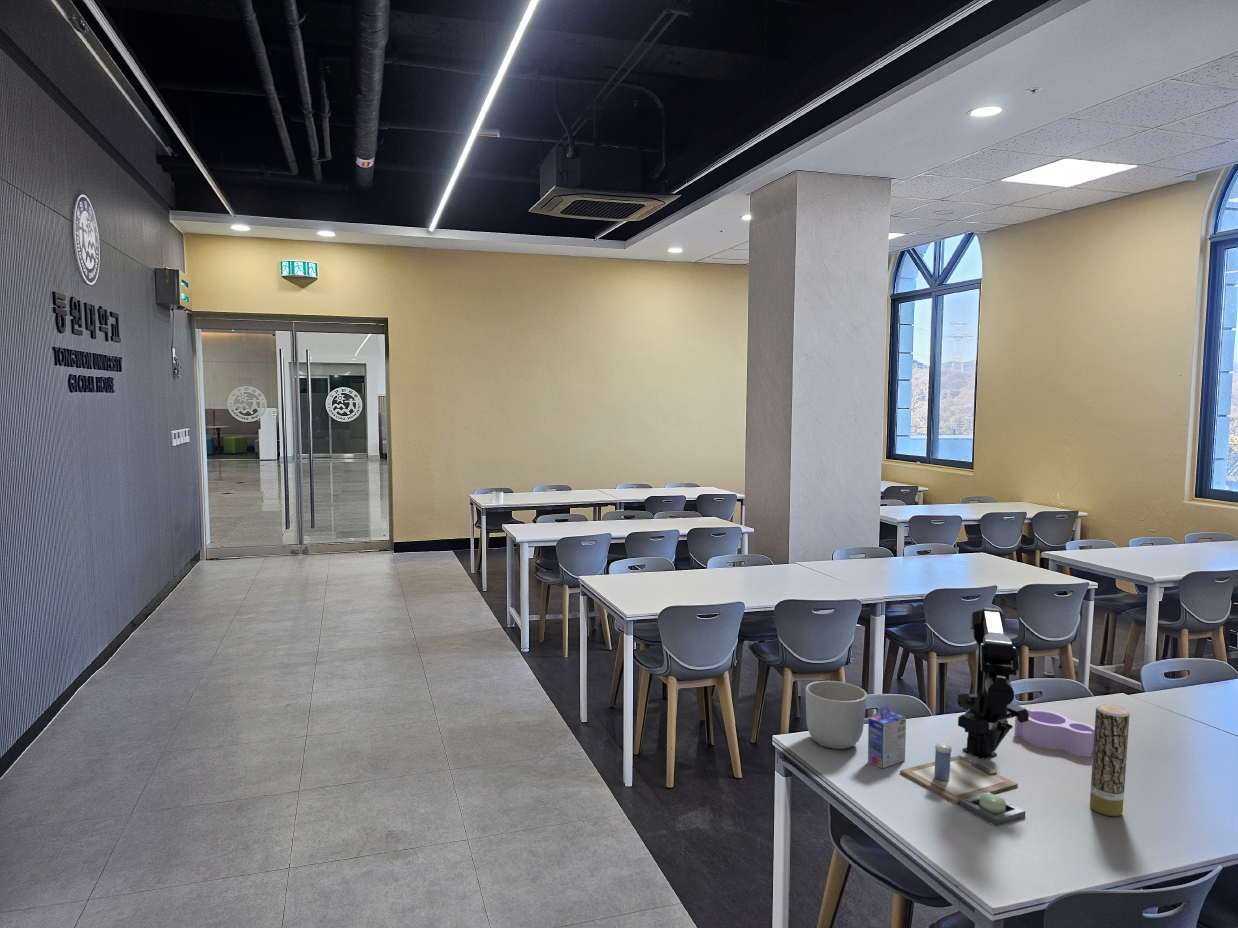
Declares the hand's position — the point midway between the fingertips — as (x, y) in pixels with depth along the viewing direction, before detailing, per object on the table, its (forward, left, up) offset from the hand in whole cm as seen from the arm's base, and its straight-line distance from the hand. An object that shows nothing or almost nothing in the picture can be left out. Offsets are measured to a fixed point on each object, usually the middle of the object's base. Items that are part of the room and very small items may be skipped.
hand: (991, 750), depth 197 cm
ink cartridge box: (+10, -25, -12) cm, 29 cm away
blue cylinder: (+5, -10, -10) cm, 15 cm away
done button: (+7, +6, -11) cm, 14 cm away
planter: (+15, -40, -11) cm, 44 cm away
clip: (-45, -14, -12) cm, 49 cm away
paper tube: (-19, +17, -11) cm, 28 cm away
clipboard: (+1, -9, -11) cm, 14 cm away
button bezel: (+7, +6, -11) cm, 14 cm away
